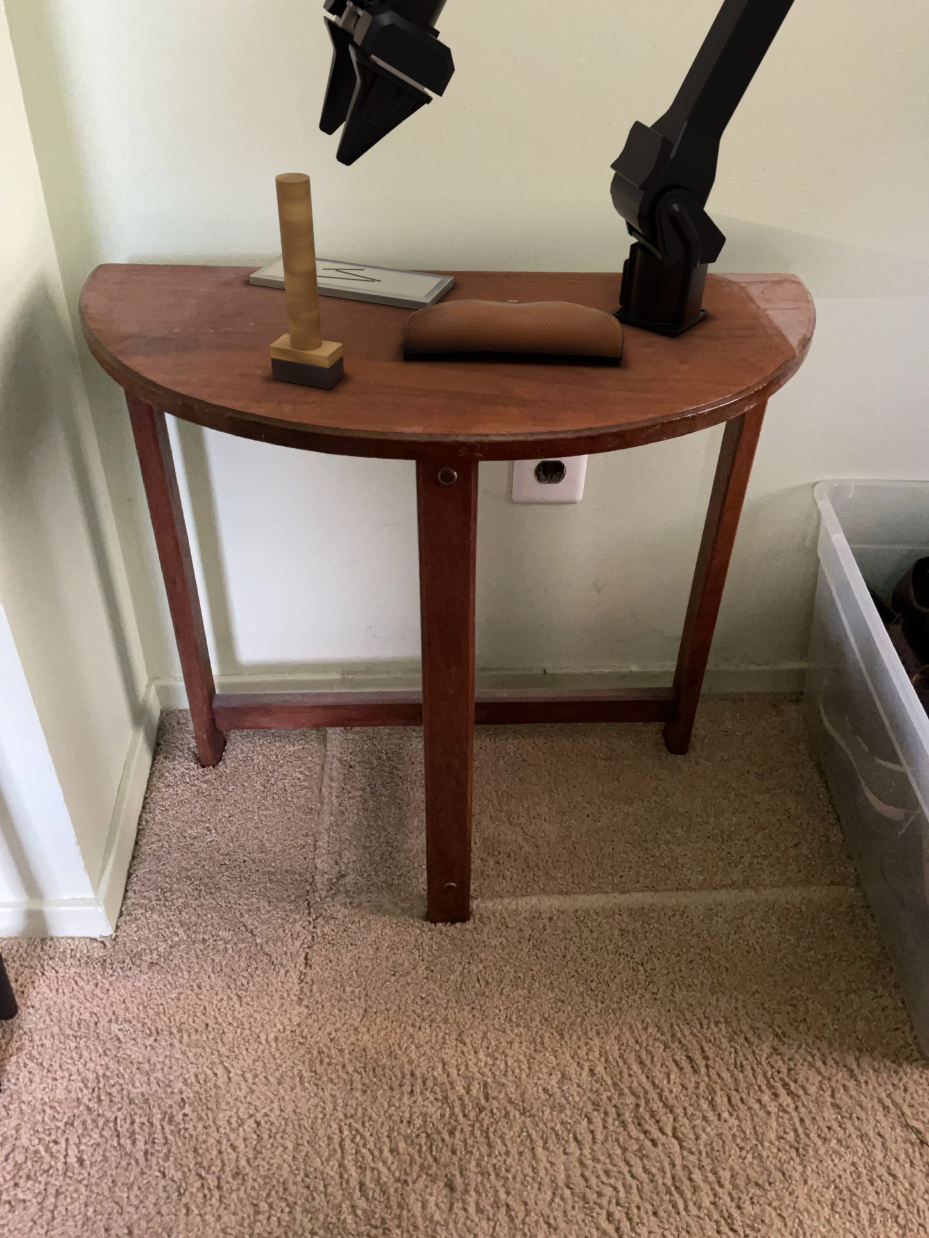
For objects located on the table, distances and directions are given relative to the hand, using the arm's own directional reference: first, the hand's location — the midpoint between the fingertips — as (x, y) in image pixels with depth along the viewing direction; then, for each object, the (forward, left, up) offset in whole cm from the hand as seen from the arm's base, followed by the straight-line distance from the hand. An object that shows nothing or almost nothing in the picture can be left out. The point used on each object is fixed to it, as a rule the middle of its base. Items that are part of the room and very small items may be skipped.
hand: (332, 147), depth 74 cm
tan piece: (-3, +7, -15) cm, 17 cm away
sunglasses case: (-11, -9, -16) cm, 21 cm away
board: (+9, -10, -15) cm, 21 cm away
